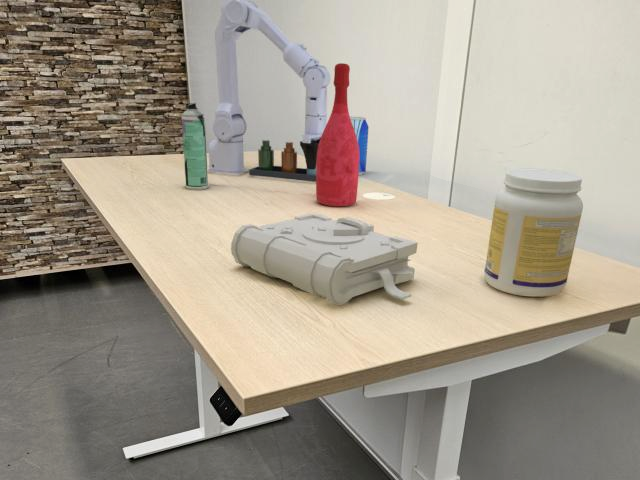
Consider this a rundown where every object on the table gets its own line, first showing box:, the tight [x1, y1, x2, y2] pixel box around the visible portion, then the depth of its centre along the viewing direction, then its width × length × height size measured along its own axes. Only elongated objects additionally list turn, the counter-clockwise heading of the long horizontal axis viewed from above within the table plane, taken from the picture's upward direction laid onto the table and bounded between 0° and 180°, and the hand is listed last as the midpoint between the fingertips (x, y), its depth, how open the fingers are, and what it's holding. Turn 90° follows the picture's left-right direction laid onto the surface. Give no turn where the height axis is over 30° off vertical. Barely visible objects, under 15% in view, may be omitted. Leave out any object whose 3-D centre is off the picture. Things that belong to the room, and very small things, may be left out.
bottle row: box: [257, 139, 298, 174], centre depth 161 cm, size 11×4×9 cm, turn 72°
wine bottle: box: [315, 62, 360, 207], centre depth 129 cm, size 10×10×30 cm
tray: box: [248, 165, 316, 183], centre depth 162 cm, size 21×9×2 cm, turn 72°
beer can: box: [349, 115, 369, 176], centre depth 166 cm, size 8×8×16 cm
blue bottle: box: [306, 168, 316, 176], centre depth 158 cm, size 4×4×9 cm
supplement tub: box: [483, 167, 584, 298], centre depth 86 cm, size 12×12×17 cm
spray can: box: [181, 102, 209, 191], centre depth 141 cm, size 6×6×20 cm
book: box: [230, 212, 418, 307], centre depth 87 cm, size 19×28×8 cm
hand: (314, 167), depth 159 cm, fingers open, 5 cm apart
